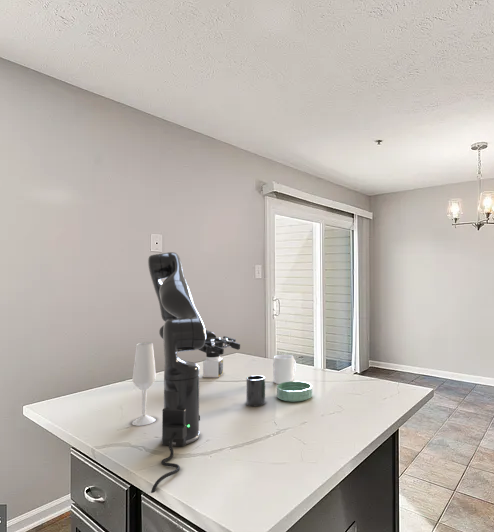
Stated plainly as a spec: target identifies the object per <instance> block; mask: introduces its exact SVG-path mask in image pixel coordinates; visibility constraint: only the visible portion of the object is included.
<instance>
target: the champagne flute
mask: <svg viewBox="0 0 494 532" xmlns="http://www.w3.org/2000/svg"><path fill="white" fill-rule="evenodd" d="M154 349H155V348H154V342H149V341H146V342H138V343H136V344H135V350H134V351H135V352H134V360H133V368H132V369H133V370H132V383H133V385H134V386H135V387H136V388H138V389H139V390H141V415H140V416H138V417H137V418H136V419H135V420H133V421H132V422H131V424H132V425H133V426H137V427H139V426H147V425H150V424H153V423H154V422H156V420H157V419H156V417H153V416H151V415H149V414H147V390H148V389H149V388H150V387H152V385H153V384H154V383H155V382H156V381H157V372H156V361H155V350H154Z"/></svg>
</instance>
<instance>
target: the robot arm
mask: <svg viewBox="0 0 494 532" xmlns="http://www.w3.org/2000/svg"><path fill="white" fill-rule="evenodd" d="M147 266H148V271H149V276H150V280H151V282H152V285H153V289H154V292H155V294H156V297H157V300H158V301H157V302H158V304H159V310H160V316H161V319H162V321H163V322H164V324H163V325H162V326H161V327H160V328H159V330H158V332H159V336H160V338H161V339H162V341H163V409H162V410H161V411H162V413H161V415H162V417H161V418H162V420H161V421H162V426H161V428H162V429H161V445H162V446H168V448H169V453H170V454H169V456H168V457H166V458H163V459H162V460H161V461H160V463H161V465H162V466H165V467H169V468H175V469H174V470H171V471H169V472H166V473H165V474H163V475H161V476H160V477H159V478H157V480H156V481H155V482H154V484H153V486H152V488H151V491H150V493H151V494H154V493H155V492H156V490H157V487H158V485H159V484H160V483H161V482H162V481H163V480H164V479H167V478H169V477H171V476H173V475H175V474H177V473H179V472H180V469H181V467H180V465H179V464H178V463H173V462H169V461H170V460H171V459H173V457H174V448H173V447H185V446H186V445H189V444H192V443H194V442H195V441H197V440H198V439H199V438H200V421H201V416H200V365H199V364H198V363H196V362H193V361H188V360H185V359H182V358H181V357H179V356H178V353H184V352H192V351H197V350H198V351H200V352H203V353H205V354H206V353H210V352H212V353H214V352H215V353H218V354H220V356H221V355H224V353H225V349H227V348H231V349H234V350H237V351H238V350H240V349H241V344H240V343H239V342H236V341H237V340H236V338H232V337H228V336H225V335H223V337H217V336H216V334H215V333H214V332H213V331H211V330H207V329H206V328H205V324H204V321H203V319H202V318H201V315H200V314H199V312H198V310H197V308H196V305H195V302H194V299H193V296H192V293H191V292H192V291H191V290H190V287H189V285H188V282H187V280H186V277H185V273H184V269H183V265H182V261H181V258H180V256H179V254H178V253H177V252H174V251H173V252H172V251H169V252H162V253H155V254H150V255H149V256H148V258H147ZM163 279H164V280H163ZM162 280H163V281H162Z"/></svg>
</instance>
